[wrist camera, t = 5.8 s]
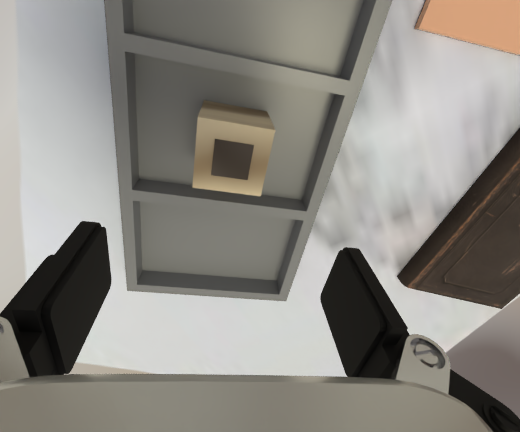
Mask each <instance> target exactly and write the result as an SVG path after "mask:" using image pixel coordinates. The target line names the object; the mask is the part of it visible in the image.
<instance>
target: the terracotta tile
mask: <svg viewBox="0 0 520 432" xmlns="http://www.w3.org/2000/svg"><path fill="white" fill-rule="evenodd" d="M415 29H418V30H422V31H426V32H430V33H434V34H438V35H442V36H446V37H450V38H454V39H457V40H461V41H465V42H469V43H473V44H477V45H481V46H485V47H489V48H493V49H496V50H500V51H504V52H508V53H512V54H516V55H520V0H426V1H425V4H424V6H423V9H422V11H421V14H420V16H419V19H418V21H417V24H416V26H415Z"/></svg>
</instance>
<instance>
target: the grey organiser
mask: <svg viewBox="0 0 520 432" xmlns="http://www.w3.org/2000/svg"><path fill="white" fill-rule="evenodd" d="M391 2H392V0H104V4H105V17H106V29H107V42H108V55H109V67H110V80H111V93H112V105H113V118H114V130H115V143H116V156H117V168H118V181H119V194H120V206H121V219H122V231H123V244H124V257H125V269H126V282H127V291H139V292H154V293H169V294H184V295H199V296H214V297H229V298H244V299H259V300H274V301H286V300H287V297H288V294H289V291H290V288H291V286H292V283H293V280H294V277H295V274H296V271H297V269H298V266H299V263H300V260H301V257H302V254H303V252H304V249H305V246H306V243H307V240H308V237H309V235H310V232H311V229H312V226H313V223H314V220H315V218H316V215H317V212H318V209H319V206H320V203H321V201H322V198H323V195H324V192H325V189H326V186H327V184H328V181H329V178H330V175H331V172H332V169H333V167H334V164H335V161H336V158H337V155H338V153H339V150H340V147H341V144H342V141H343V138H344V136H345V133H346V130H347V127H348V124H349V121H350V119H351V116H352V113H353V110H354V107H355V104H356V102H357V99H358V96H359V93H360V90H361V87H362V85H363V82H364V79H365V76H366V73H367V70H368V68H369V65H370V62H371V59H372V56H373V53H374V51H375V48H376V45H377V42H378V39H379V36H380V34H381V31H382V28H383V25H384V22H385V19H386V17H387V14H388V11H389V8H390V5H391ZM204 100H206V101H212V102H217V103H223V104H228V105H234V106H239V107H245V108H250V109H256V110H261V111H267V112H268V114H269V117H270V119H271V121H272V124H273V126H274V128H275V134H274V139H273V143H272V148H271V152H270V157H269V161H268V166H267V170H266V175H265V179H264V184H263V188H262V193H261V196H253V195H246V194H238V193H230V192H223V191H215V190H207V189H199V188H192V187H193V173H194V160H195V146H196V133H197V119H198V115H199V112H200V110H201V107H202V104H203V102H204Z"/></svg>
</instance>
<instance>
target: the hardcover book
mask: <svg viewBox="0 0 520 432" xmlns="http://www.w3.org/2000/svg"><path fill="white" fill-rule="evenodd" d="M397 277H398V278H399V280H400V282H401V283H402V284H403V285H404V286H406V287H408V288H412V289H416V290H420V291H425V292H429V293H434V294H438V295H443V296H447V297H451V298H456V299H460V300H465V301H469V302H474V303H478V304H482V305H487V306H491V307H496V308H500V309H502V308H503V307H504V306H505V305H507V304H508V303H509V302H510V301H511V300H512V299H514V298H515V297H516V296H517V295H518V294H520V128H519V130H518V131H517V132H516V133H515V135H514V136H513V137H512V138H511V139H510V141H509V142H508V143H507V144H506V145H505V147H504V148H503V149H502V150H501V151H500V153H499V154H498V155H497V156H496V157H495V159H494V160H493V161H492V162H491V164H490V165H489V166H488V167H487V168H486V170H485V171H484V172H483V173H482V174H481V176H480V177H479V178H478V179H477V180H476V182H475V183H474V184H473V185H472V186H471V188H470V189H469V190H468V191H467V193H466V194H465V195H464V196H463V197H462V199H461V200H460V201H459V202H458V203H457V205H456V206H455V207H454V208H453V209H452V211H451V212H450V213H449V214H448V215H447V217H446V218H445V219H444V220H443V222H442V223H441V224H440V225H439V226H438V228H437V229H436V230H435V231H434V232H433V234H432V235H431V236H430V237H429V238H428V240H427V241H426V242H425V243H424V244H423V246H422V247H421V248H420V249H419V251H418V252H417V253H416V254H415V255H414V257H413V258H412V259H411V260H410V261H409V263H408V264H407V265H406V266H405V267H404V269H403V270H402V271H401V272H400V274H399V275H398V276H397Z"/></svg>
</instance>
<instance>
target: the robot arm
mask: <svg viewBox="0 0 520 432" xmlns="http://www.w3.org/2000/svg"><path fill="white" fill-rule="evenodd" d="M110 286H111V272H110V262H109V253H108V243H107V234H106V228H105V227H101V225H100V223H96V222H86V221H82V222H80V223H79V225H78V226H77V227H76V228H75V230H74V231H73V232H72V234H71V235H70V236H69V237H68V239H67V240H66V241H65V242H64V244H63V245H62V246H61V247H60V249H59V250H58V251H57V252H56V254H55V255H50V256H48V257H47V258H46V259H45V260H44V261H43V262H42V264H41V265H40V266H39V267H38V268H37V270H36V271H35V272H34V273H33V275H32V276H31V277H30V278H29V279H28V281H27V282H26V283H25V284H24V286H23V287H22V288H21V289H20V291H19V292H18V293H17V294H16V295H15V296H14V298H13V299H12V300H11V301H10V303H9V304H8V305H7V306H6V307H5V309H4V310H3V311H2V312H1V313H0V432H520V419H519V418H518V417H517V416H516V415H515V414H514V413H513V412H512V411H511V410H510V409H509V408H507V407H506V406H505V405H503V404H502V403H501V402H499V401H498V400H496V399H495V398H493V397H492V396H490V395H489V394H487V393H486V392H484V391H483V390H481V389H480V388H478V387H477V386H475V385H474V384H472V383H471V382H469V381H468V380H466V379H465V378H463V377H461V376H460V375H458V374H457V373H455V372H454V371H452V370H451V369H450V361H449V358H448V356H447V354H446V353H445V352H444V350H443V349H442V348H441V347H440V346H439V345H438V344H437V343H435V342H434V341H432V340H431V339H429V338H427V337H425V336H422V335H418V334H412V335H409V333H408V331H407V329H408V328H407V326H406V324H405V323H404V321H403V320H402V318H401V316H400V315H399V313H398V311H397V310H396V308H395V307H394V305H393V303H392V302H391V300H390V298H389V297H388V295H387V293H386V292H385V290H384V289H383V287H382V285H381V284H380V282H379V280H378V279H377V277H376V275H375V274H374V272H373V271H372V269H371V267H370V266H369V264H368V262H367V261H366V259H365V257H364V256H363V254H362V253H361V251H360V250H359V249H357V248H347V247H345V248H344V249H343V250H340V251H339V253H338V255H337V257H336V260H335V262H334V264H333V267H332V269H331V272H330V274H329V276H328V279H327V281H326V283H325V286H324V288H323V291H322V293H321V304H322V307H323V310H324V312H325V315H326V318H327V321H328V324H329V327H330V330H331V333H332V336H333V338H334V341H335V344H336V347H337V350H338V353H339V356H340V359H341V362H342V364H343V367H344V370H345V373H346V375H347V376H348V377H327V376H272V375H195V374H70V375H64V374H68V373H70V371H71V370H72V368H73V366H74V364H75V361H76V359H77V357H78V355H79V353H80V351H81V349H82V347H83V344H84V342H85V340H86V338H87V336H88V334H89V332H90V330H91V327H92V325H93V323H94V321H95V319H96V317H97V315H98V313H99V310H100V308H101V306H102V304H103V302H104V300H105V298H106V296H107V293H108V291H109V289H110Z"/></svg>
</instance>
